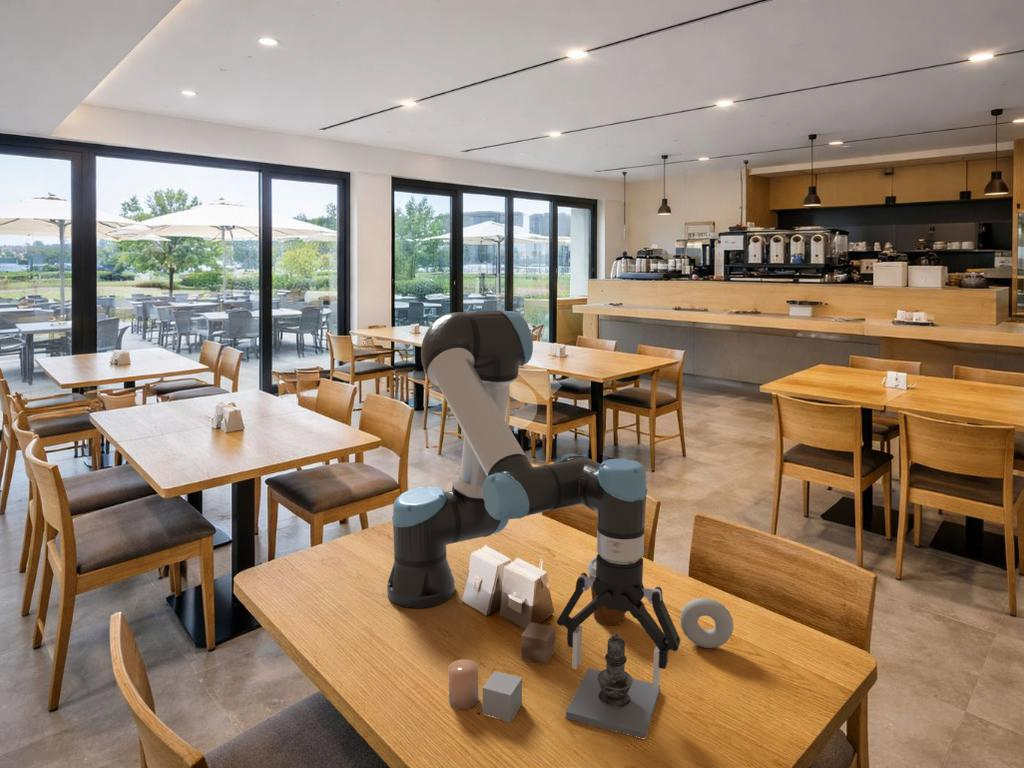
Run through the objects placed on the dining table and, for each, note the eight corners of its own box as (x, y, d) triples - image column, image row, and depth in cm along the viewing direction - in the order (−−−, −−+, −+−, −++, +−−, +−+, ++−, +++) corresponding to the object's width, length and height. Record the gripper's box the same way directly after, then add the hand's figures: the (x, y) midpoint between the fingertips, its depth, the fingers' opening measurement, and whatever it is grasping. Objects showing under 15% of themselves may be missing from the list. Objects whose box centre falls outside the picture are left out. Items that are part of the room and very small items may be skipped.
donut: (732, 646, 129) (735, 599, 128) (731, 656, 126) (734, 607, 124) (679, 636, 133) (682, 590, 131) (677, 645, 130) (680, 598, 128)
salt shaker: (608, 682, 116) (610, 619, 114) (638, 696, 112) (641, 631, 110) (590, 699, 112) (592, 633, 110) (620, 714, 108) (623, 646, 106)
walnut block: (521, 659, 125) (521, 635, 124) (530, 645, 130) (530, 621, 129) (546, 665, 123) (546, 640, 122) (554, 651, 128) (555, 627, 127)
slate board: (565, 718, 109) (566, 711, 109) (588, 673, 121) (588, 667, 120) (644, 740, 104) (645, 733, 104) (660, 691, 116) (660, 685, 115)
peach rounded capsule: (443, 703, 112) (442, 670, 111) (460, 687, 117) (459, 656, 116) (467, 713, 110) (466, 680, 109) (484, 696, 114) (483, 665, 113)
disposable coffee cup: (577, 617, 140) (578, 564, 138) (604, 601, 146) (606, 550, 144) (613, 635, 133) (615, 579, 131) (640, 617, 140) (643, 564, 138)
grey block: (482, 714, 110) (482, 687, 109) (495, 696, 114) (494, 670, 113) (510, 722, 108) (510, 695, 107) (521, 704, 112) (522, 677, 111)
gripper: (539, 551, 109) (538, 668, 113) (695, 579, 99) (688, 706, 103) (554, 534, 116) (552, 645, 119) (702, 559, 106) (694, 679, 110)
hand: (615, 673), depth 111 cm, fingers open, 13 cm apart
